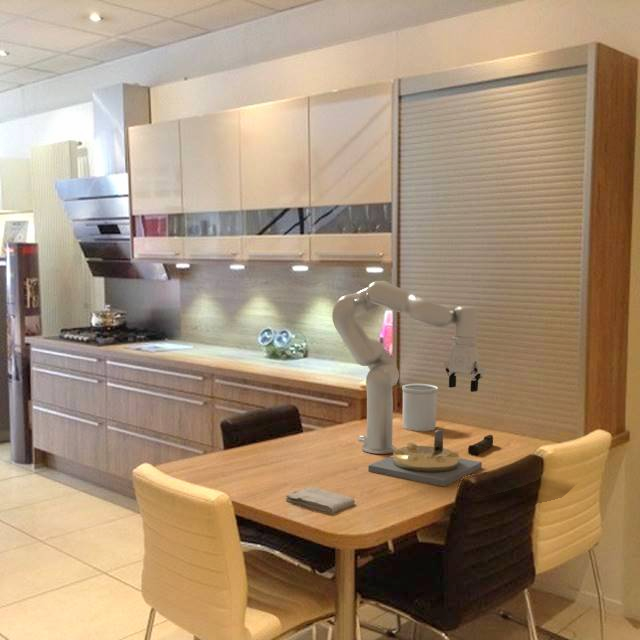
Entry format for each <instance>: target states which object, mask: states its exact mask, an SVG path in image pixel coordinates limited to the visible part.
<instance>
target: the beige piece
mask: <svg viewBox="0 0 640 640" xmlns="http://www.w3.org/2000/svg"><path fill="white" fill-rule="evenodd" d="M433 441H434V442H433V443H434V445H433V446H430V445H428V446H427V445H417V443H413V442H412V443H411V442H410V443H409V442H408V443H407V446H403V447H399V448H397V447H396V448H394V452H393V453H392V454H393V455H392V456H393V463H394V464H395V465H397V466H399V467H401V468H404V469H409V470H414V471H423V472H441V471H449V470H453V469H455V468H457V467H458V466H459V458H460V455H459V450H452V449H448V448H444V430H442V429H434V440H433Z"/></svg>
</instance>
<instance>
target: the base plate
mask: <svg viewBox="0 0 640 640" xmlns="http://www.w3.org/2000/svg"><path fill="white" fill-rule="evenodd" d="M482 463H483V462H482V461H478V460H473V459H468V458H461V457H459V466H458V467H457V468H455V469H453V470H449V471H441V472H423V471H414V470H409V469H404V468H401V467H399V466H397V465H395V464H394V463H393V455H390V456H388V457H386V458H383V459H381V460H379V461H375V462H373V463H371V464H368V466H367V467H368V472H370V473H377V474H380V475H385V476H391V477H394V478H401V479H405V480H409V481H413V480H414V481H415V482H418V481H419V483H423V482H424V483H423V484H428V483H429V484H428V485H433V484H434V485H433V486H437V485H439V486H438V487H442V486H445V485H446V486H448V485H450V484H452V483H454V482H456V481H458V480H460V479H462V478H464V477H466V476H468V475H470V474H472V473H474V472H476V471H478V470H480V469H482V468H483V467H482V466H483V465H482ZM465 475H466V476H465ZM463 476H464V477H463ZM461 477H462V478H461ZM459 478H460V479H459ZM457 479H458V480H457ZM455 480H456V481H455ZM453 481H454V482H453ZM451 482H452V483H451ZM449 483H450V484H449ZM447 484H448V485H447ZM446 486H445V487H446Z"/></svg>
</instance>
